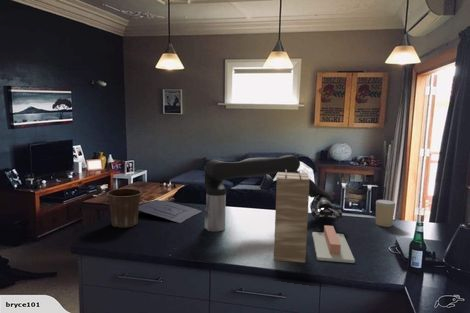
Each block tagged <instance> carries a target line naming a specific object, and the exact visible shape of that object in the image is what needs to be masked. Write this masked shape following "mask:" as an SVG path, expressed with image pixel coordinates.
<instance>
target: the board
mask: <svg viewBox="0 0 470 313" xmlns="http://www.w3.org/2000/svg"><path fill="white" fill-rule="evenodd" d="M336 234H337V237H338V239H339V242H340V244H341V251H340V255H339V254H330V253H329V249H328V246H327V243H326V240H325V236H324V232H320V231H312V233H311V235H312V240H313V245H314V250H315V255H316V259H317V260H316V261H322V262H323V261H324V262H325V261H326V262H337V263H351V264H356V263H355V262H356V259H355V257H354V255H353V253H352V251H351V248H350V246H349V244H348V242H347V240H346V237H345V235H344V234H343V233H336Z"/></svg>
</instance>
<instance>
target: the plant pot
mask: <svg viewBox="0 0 470 313" xmlns="http://www.w3.org/2000/svg"><path fill="white" fill-rule="evenodd" d="M142 194H143V193H142V190H140V189H136V188H117V189H112V190H109V191H107V192H106V195H107V198H108V199H107V200H108V202H109V210H110V220H111V226H112V227H114V228H116V227H117V228H119V229H122V228H123V229H127V228H132V227H134V226H137V225H138V223H139V222H138V220H139V211H140V210H139V206H140V201H141V195H142Z"/></svg>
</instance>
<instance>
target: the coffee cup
mask: <svg viewBox="0 0 470 313" xmlns="http://www.w3.org/2000/svg"><path fill="white" fill-rule="evenodd" d="M395 208H396V203H395V201H393V200H389V199H377V200H376V201H375V225H378V226H380V227H387V228H388V227H389V228H390V227H393V226H392V225H393V222H394V214H395V210H396V209H395Z"/></svg>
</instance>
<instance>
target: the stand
mask: <svg viewBox="0 0 470 313" xmlns="http://www.w3.org/2000/svg"><path fill="white" fill-rule="evenodd" d="M298 171H299V173H287V170H286V172H277V173H276V174H277V176H276V192H275V212H274V213H275V215H274V216H275V219H274V220H275V221H274V244H273V261H279V262H292V263H303V264H305V263H306V259H307V258H306V257H307V255H306V254H307V241H308V240H307V237H308V235H307V234H308V220H309V215H308V214H309V197H310V196H309V181H310V180H309V179H310V177H309V174H308V172H307V173H303V172H301V170H300V169H298Z"/></svg>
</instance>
